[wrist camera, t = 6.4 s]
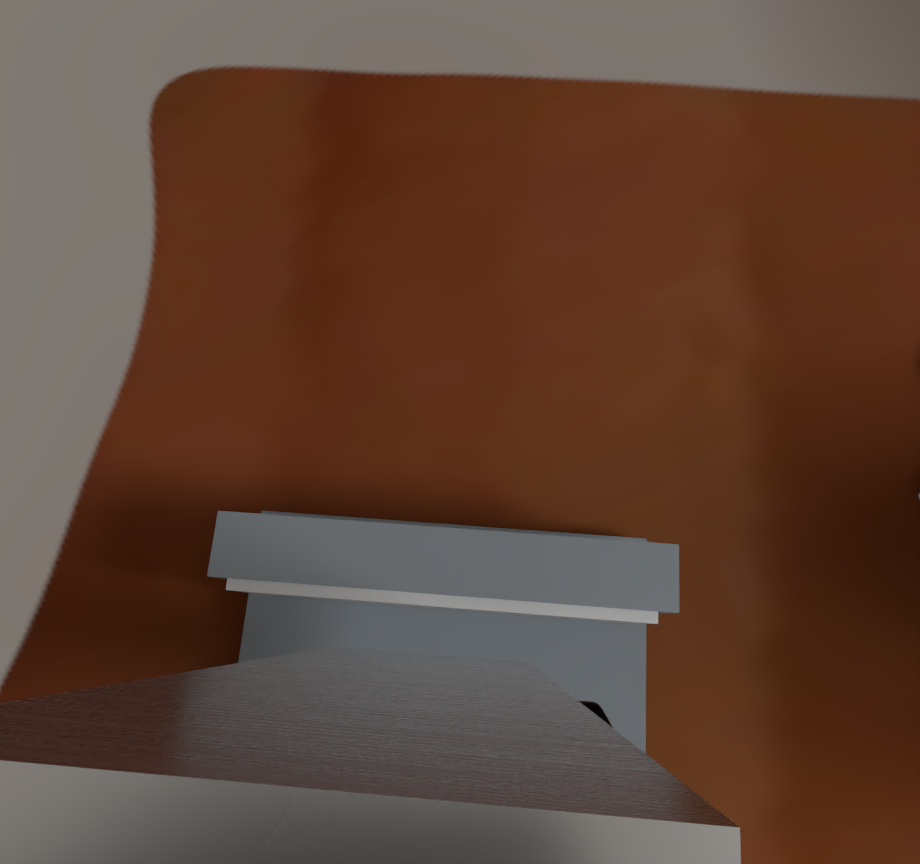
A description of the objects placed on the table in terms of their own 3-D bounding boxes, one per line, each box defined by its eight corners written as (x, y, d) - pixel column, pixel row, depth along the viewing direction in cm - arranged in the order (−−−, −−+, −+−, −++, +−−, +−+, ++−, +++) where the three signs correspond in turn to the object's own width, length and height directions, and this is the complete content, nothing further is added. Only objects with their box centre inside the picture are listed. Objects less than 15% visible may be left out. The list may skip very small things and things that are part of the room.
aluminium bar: (521, 835, 15) (772, 2056, 2) (312, 816, 15) (-554, 1833, 2) (529, 662, 16) (740, 828, 3) (333, 646, 16) (-216, 741, 3)
